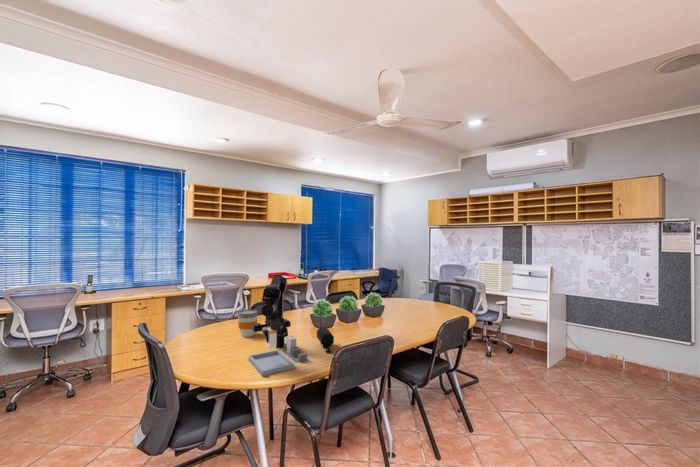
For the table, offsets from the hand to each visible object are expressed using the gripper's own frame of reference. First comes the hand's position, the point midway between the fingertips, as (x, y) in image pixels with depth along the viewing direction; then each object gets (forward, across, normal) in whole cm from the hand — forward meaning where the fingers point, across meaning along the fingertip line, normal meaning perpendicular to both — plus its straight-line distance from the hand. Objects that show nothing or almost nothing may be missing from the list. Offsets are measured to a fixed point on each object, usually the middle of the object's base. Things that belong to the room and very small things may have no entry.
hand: (271, 342), depth 163 cm
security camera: (+12, +34, +6) cm, 37 cm away
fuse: (+11, +15, +10) cm, 21 cm away
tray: (+11, 0, 0) cm, 11 cm away
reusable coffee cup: (+12, +3, +55) cm, 56 cm away
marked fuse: (+2, 0, 0) cm, 2 cm away
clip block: (+11, +15, +4) cm, 19 cm away
